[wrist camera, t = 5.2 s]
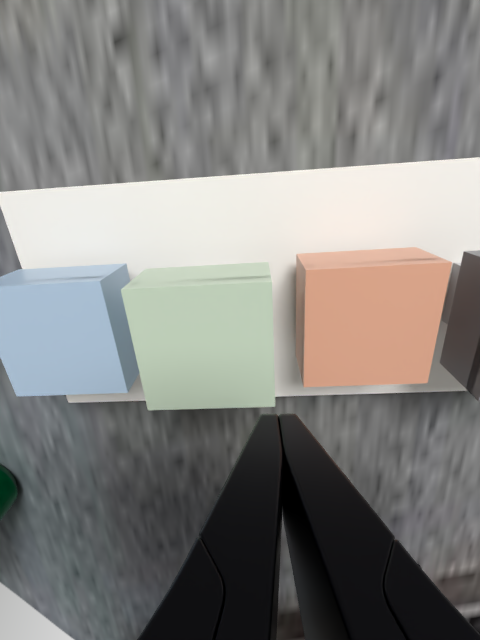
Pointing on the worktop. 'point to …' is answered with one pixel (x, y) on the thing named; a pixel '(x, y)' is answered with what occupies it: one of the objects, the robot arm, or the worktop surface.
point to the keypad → (259, 235)
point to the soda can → (6, 491)
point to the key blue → (66, 331)
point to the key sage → (203, 335)
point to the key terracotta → (368, 315)
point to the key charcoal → (465, 327)
